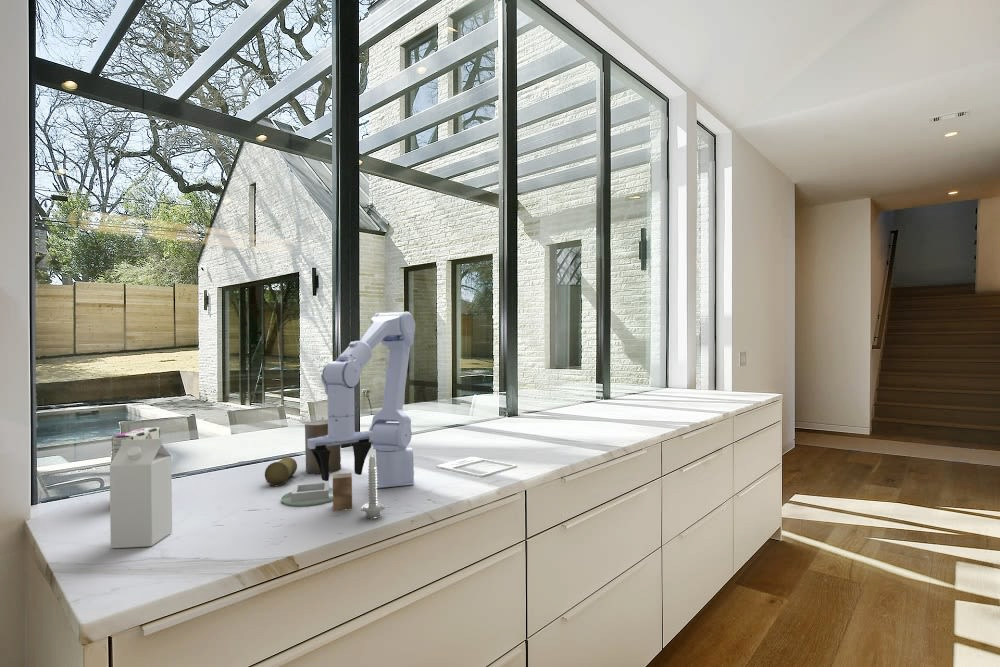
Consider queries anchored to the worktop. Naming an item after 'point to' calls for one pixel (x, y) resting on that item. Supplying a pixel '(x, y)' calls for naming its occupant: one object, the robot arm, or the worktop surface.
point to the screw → (372, 492)
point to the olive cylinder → (280, 471)
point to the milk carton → (140, 494)
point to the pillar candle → (319, 430)
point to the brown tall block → (342, 491)
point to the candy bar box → (134, 437)
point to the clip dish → (309, 494)
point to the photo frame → (471, 461)
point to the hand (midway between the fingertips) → (342, 477)
